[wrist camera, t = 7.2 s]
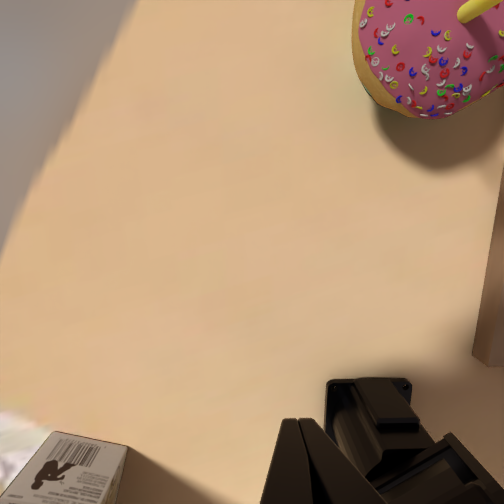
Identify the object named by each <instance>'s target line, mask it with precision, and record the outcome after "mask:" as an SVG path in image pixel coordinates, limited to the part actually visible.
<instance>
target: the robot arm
mask: <svg viewBox="0 0 504 504" xmlns="http://www.w3.org/2000/svg"><path fill="white" fill-rule="evenodd" d="M404 385H406V386H404ZM332 386H335V387H334V388H331V387H332ZM403 386H404V387H403ZM411 393H412V384H411V383H410V382H409V381H408V380H407V379H405V378H393V379H388V378H372V379H341V380H330V381H328V382H327V384H326V395H325V413H324V430H323V429H322V428H321V427H320V426H319V425H318V424H317V422H316V421H315V420H314V419H312V418H299V419H298V420H297V419H296V418H285V419H283V420H282V423H281V427H280V430H279V434H278V438H277V441H276V445H275V449H274V453H273V456H272V460H271V464H270V467H269V471H268V475H267V478H266V482H265V486H264V490H263V493H262V497H261V501H260V504H504V489H503V488H502V487H501V486H500V485H499V484H498V483H497V481H496V480H495V479H494V478H493V477H492V476H491V475H490V474H489V473H488V472H487V471H486V469H485V468H484V467H483V466H482V465H481V464H480V463H479V462H478V461H477V460H476V459H475V458H474V456H473V455H472V454H471V453H470V452H469V451H468V450H467V449H466V448H465V447H464V446H463V444H462V443H461V442H460V441H459V440H458V439H457V438H456V437H455V436H454V435H453V434H452V433H451V432H450V433H448V434H446V435H445V436H443V437H444V439H442V440H440V441H438V442H437V443H435V442H434V441H433V439H432V438H431V437H430V435H429V434H428V433H427V431H426V430H425V429H424V427H423V426H422V425H421V423H420V419H419V417H418V416H417V415H416V413H415V412H414V411H413V409H412V408H411V407H410V401H411Z"/></svg>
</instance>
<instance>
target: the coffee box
mask: <svg viewBox="0 0 504 504" xmlns="http://www.w3.org/2000/svg"><path fill="white" fill-rule="evenodd" d="M127 449H128V448H127V447H126V446H123V445H118V444H113V443H108V442H103V441H98V440H94V439H89V438H84V437H79V436H75V435H70V434H65V433H60V432H52V433H51V434H50V435H49V437H48V438H47V439H46V440H45V442H44V443H43V444H42V445H41V447H40V448H39V449H38V450H37V452H36V453H35V454H34V455H33V457H32V458H31V459H30V460H29V461H28V463H27V464H26V465H25V466H24V468H23V469H22V470H21V471H20V473H19V474H18V475H17V476H16V477H15V479H14V480H13V481H12V482H11V484H10V485H9V486H8V487H7V489H6V490H5V491H4V492H3V493H2V495H1V496H0V504H116V499H117V494H118V490H119V486H120V481H121V477H122V472H123V467H124V463H125V458H126V454H127Z"/></svg>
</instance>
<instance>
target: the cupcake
mask: <svg viewBox="0 0 504 504" xmlns="http://www.w3.org/2000/svg"><path fill="white" fill-rule="evenodd" d="M352 53H353V60H354V65H355V69H356V72H357V74H358V77H359V79H360V81H361V82H362V84H363V86H364V88H365V89H366V91H367V92H368V93H369V94H370V95H371V96H372V97H373V99H374V100H375V101H376V102H377V103H378V104H379V105H381V106H383V107H386V108H389V109H392V110H395V111H398V112H400V113H401V114H403V115H405V116H407V117H419V118H423V119H440V118H445V117H448V116H450V115H452V114H454V113H455V112H457V111H459V110H462V109H464V108H466V107H468V106H469V105H471V104H473V103H475V102H476V101H478V100H480V99H481V98H483V97H484V96H486V95H488V94H489V93H491V92H493V91H494V90H496V89H497V88H499V87H501V86H503V85H504V0H355V5H354V11H353V21H352Z"/></svg>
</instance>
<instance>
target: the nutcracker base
mask: <svg viewBox="0 0 504 504" xmlns="http://www.w3.org/2000/svg"><path fill="white" fill-rule="evenodd" d="M472 356H474V357H475V358H476V359H478V360H479V361H481V362H482V363H483V364H485V365H486V366H487V367H504V168H503V174H502V180H501V186H500V192H499V198H498V204H497V210H496V216H495V222H494V227H493V233H492V239H491V245H490V251H489V257H488V263H487V269H486V275H485V281H484V287H483V293H482V298H481V304H480V310H479V316H478V322H477V328H476V334H475V340H474V346H473V352H472Z"/></svg>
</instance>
